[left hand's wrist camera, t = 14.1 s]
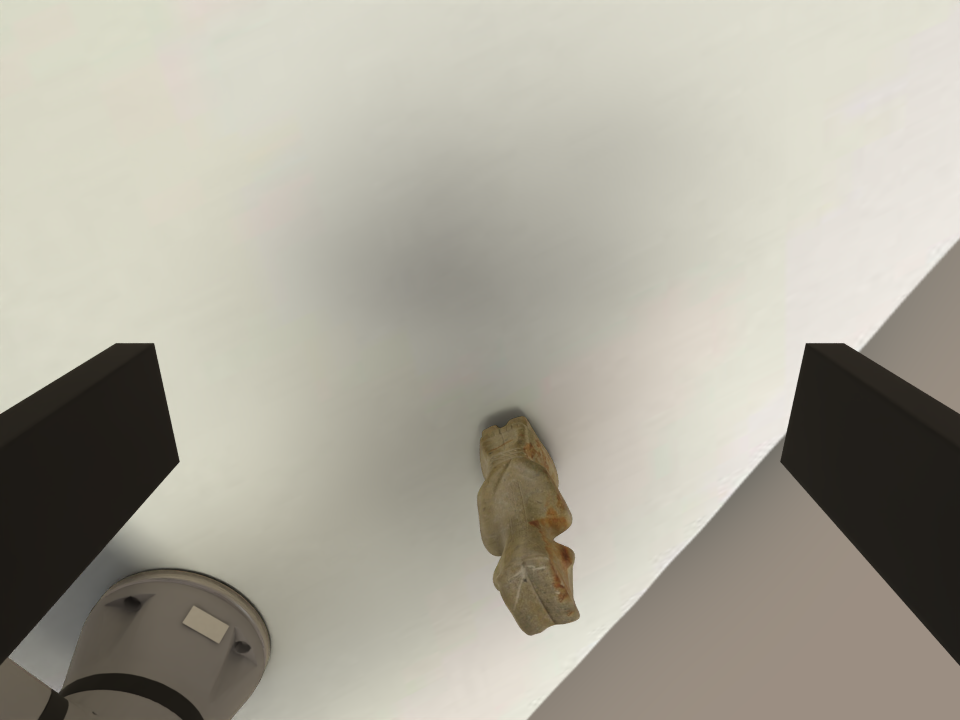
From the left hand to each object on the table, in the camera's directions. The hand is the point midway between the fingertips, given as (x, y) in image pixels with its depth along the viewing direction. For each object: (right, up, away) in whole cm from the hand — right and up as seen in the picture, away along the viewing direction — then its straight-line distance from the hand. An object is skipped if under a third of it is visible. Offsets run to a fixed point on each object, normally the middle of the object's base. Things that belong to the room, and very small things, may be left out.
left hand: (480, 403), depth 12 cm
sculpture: (+3, -6, +33) cm, 34 cm away
